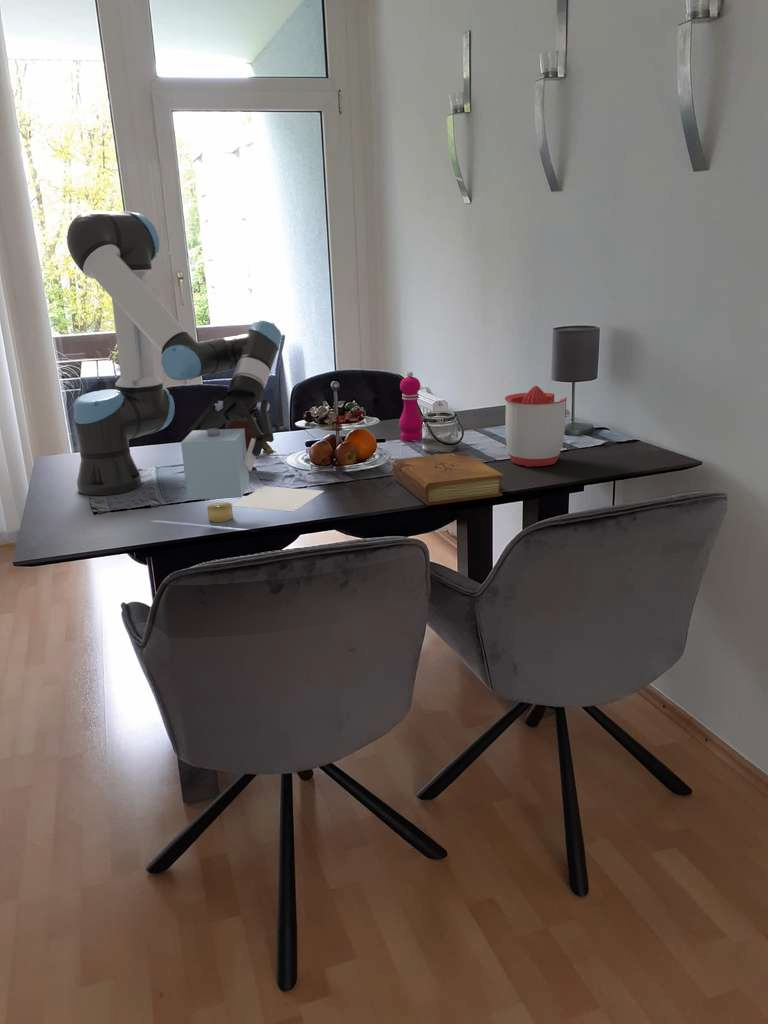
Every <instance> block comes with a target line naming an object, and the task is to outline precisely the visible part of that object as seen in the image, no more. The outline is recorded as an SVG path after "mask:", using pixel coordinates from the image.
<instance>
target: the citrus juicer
mask: <svg viewBox="0 0 768 1024" xmlns="http://www.w3.org/2000/svg"><path fill="white" fill-rule="evenodd" d="M504 400H505V430H504V431H505V442H506V447H507V451H508V455H509V458H510V460H511V463H512V464H513V463H514V464H516V465H520V466H525V467H526V468H533V467H542V466H544V467H545V466H550V465H554V464H555V463H557V461H558V459H559V458H560V457H559V456H560V455H561V451H562V447H563V444H564V440H565V430H566V429H565V427H566V418H567V416H570V415H571V411H570V410H569V409H567V400H568V398H567V396H565V397H563V398H561V399H560V400H559V401H555V393H553V392H551V393H550V392H544V391H543V390H542V389H541V388H540V387H539V386H538V385H534V386H533V387H532V388H530V390H528V391H527V392H519V393H513V394H509V395H506V396H505V397H504Z"/></svg>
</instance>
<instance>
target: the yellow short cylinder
mask: <svg viewBox="0 0 768 1024" xmlns="http://www.w3.org/2000/svg"><path fill="white" fill-rule="evenodd" d="M232 504H233V503H230V502H225V501H224V502H223V501H220V502H213V503H211V504H208V505H207V506H206V508H207V517H208V520H209V521H212V522H214V523H222V522H227V521H229V520H230V519H232V518H234V512H233V511H234V510H233V506H232Z"/></svg>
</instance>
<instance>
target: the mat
mask: <svg viewBox="0 0 768 1024" xmlns="http://www.w3.org/2000/svg"><path fill="white" fill-rule="evenodd" d="M324 492H325V490H316V489H303V488H290V487H281V486H280V487H279V486H266V485H264V486H262V487H260V488H259V489H257V490H255V491H253V492H252V493H250V494H248V495H246V496H244V497H242V498H240V499H239V500H238V501H236V502H235V503H231V504H232V507H237V508H247V509H248V508H249V509H250V508H251V509H259V510H272V511H283V512H295V511H297V510H298V509H300V508H302V507H303V506H305V505H306V504H307V503H309V502H310V501H312V500H313V499H315V498H317V496H319V495H321V494H322V493H324Z"/></svg>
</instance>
